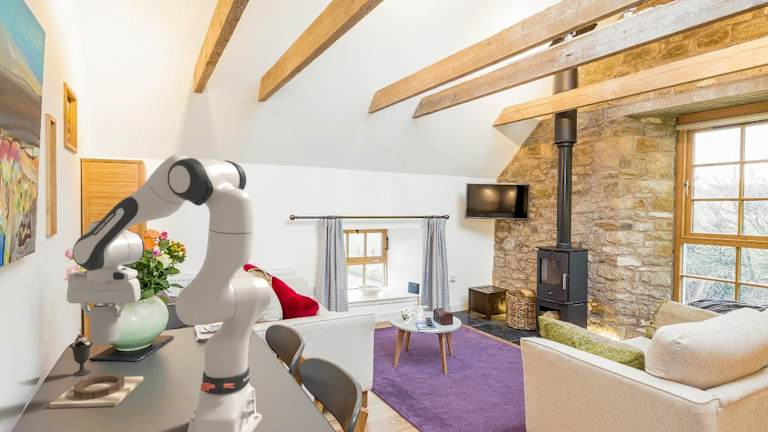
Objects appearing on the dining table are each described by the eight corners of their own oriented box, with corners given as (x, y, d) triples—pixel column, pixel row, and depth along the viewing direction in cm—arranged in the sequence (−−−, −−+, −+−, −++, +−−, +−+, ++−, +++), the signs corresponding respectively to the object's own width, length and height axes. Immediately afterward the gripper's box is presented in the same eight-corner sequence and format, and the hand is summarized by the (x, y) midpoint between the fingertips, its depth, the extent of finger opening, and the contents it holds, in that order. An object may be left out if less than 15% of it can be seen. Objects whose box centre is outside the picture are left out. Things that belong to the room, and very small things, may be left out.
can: (84, 344, 133) (84, 305, 133) (108, 336, 140) (107, 299, 140) (101, 347, 131) (101, 308, 130) (124, 340, 138) (124, 302, 137)
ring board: (115, 405, 127) (115, 395, 127) (49, 408, 125) (49, 397, 125) (143, 379, 145) (143, 370, 144) (85, 381, 143) (85, 371, 143)
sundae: (82, 368, 153) (81, 326, 152) (98, 370, 152) (97, 327, 151) (64, 376, 147) (64, 332, 146) (81, 378, 145) (80, 333, 145)
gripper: (61, 274, 130) (62, 320, 131) (133, 274, 132) (133, 319, 133) (74, 270, 136) (74, 314, 137) (142, 271, 138) (143, 314, 139)
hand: (104, 317), depth 135 cm, fingers closed on can, 7 cm apart
